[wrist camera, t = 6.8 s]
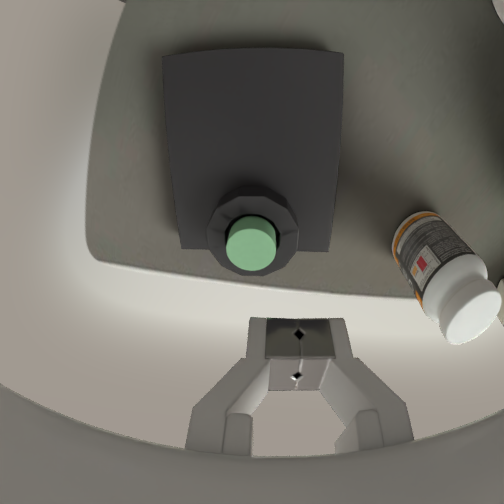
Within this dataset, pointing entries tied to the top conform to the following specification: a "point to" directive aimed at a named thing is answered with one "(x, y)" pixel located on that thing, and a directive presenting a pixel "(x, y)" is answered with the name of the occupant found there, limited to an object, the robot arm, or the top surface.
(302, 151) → the grey push button base
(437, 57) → the top surface
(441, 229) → the pill bottle
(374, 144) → the top surface
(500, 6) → the shot glass
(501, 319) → the box
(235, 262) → the button
